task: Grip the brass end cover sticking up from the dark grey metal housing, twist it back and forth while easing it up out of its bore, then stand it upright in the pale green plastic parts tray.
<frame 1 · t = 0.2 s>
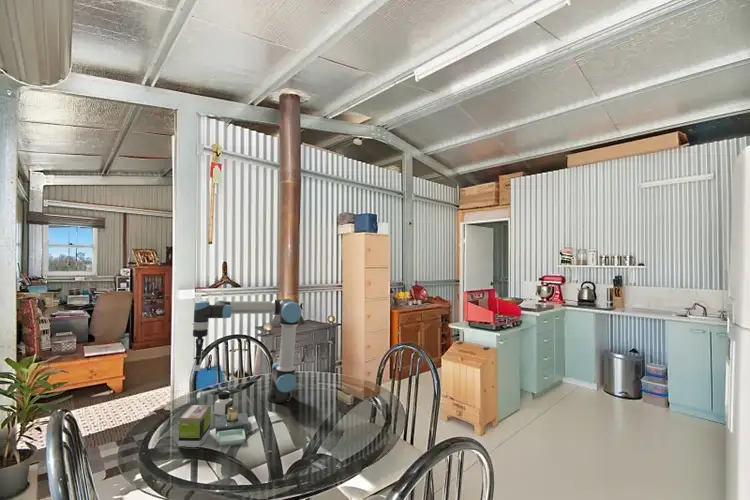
hand: (198, 366, 210), 28 cm above the table, tool pointing down, fingers open, 13 cm apart
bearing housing: (231, 426, 201), on the table
parts tray: (230, 440, 188), on the table
medicine bottle: (223, 413, 217), on the table
tea box: (194, 441, 185), on the table
end cover: (231, 427, 201), resting in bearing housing
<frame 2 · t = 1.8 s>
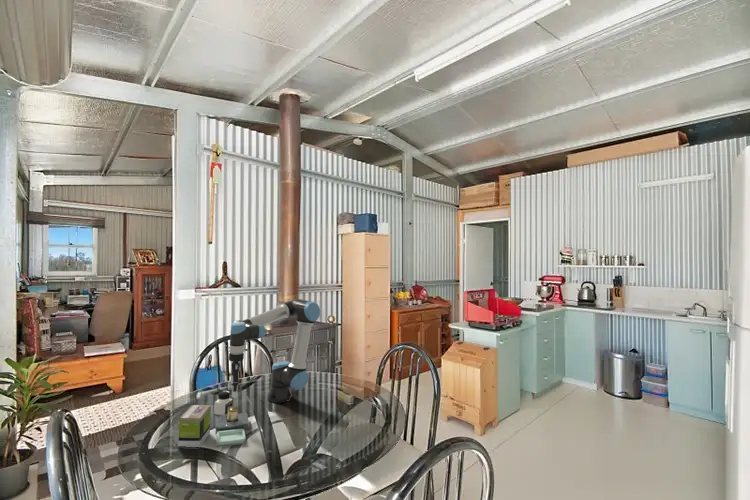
hand: (233, 392, 201), 19 cm above the table, tool pointing down, fingers open, 13 cm apart
nothing on the table moved.
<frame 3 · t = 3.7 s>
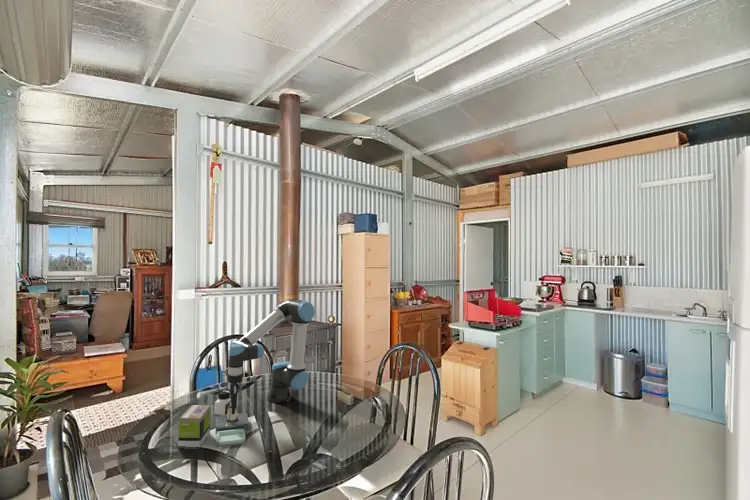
hand: (232, 417, 201), 5 cm above the table, tool pointing down, fingers closed on end cover, 5 cm apart
end cover: (231, 426, 201), resting in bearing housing, touching gripper
everything else where it was.
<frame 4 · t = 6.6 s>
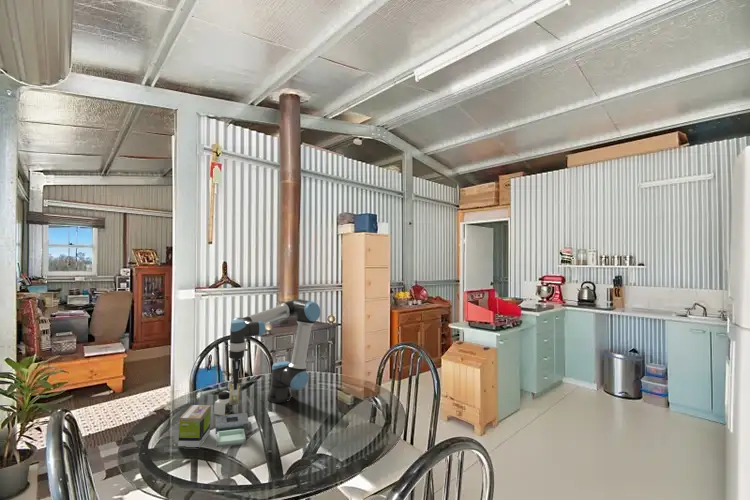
hand: (234, 392, 201), 18 cm above the table, tool pointing down, fingers closed on end cover, 5 cm apart
end cover: (234, 402, 201), point 13 cm above the table, touching gripper
everything else where it was.
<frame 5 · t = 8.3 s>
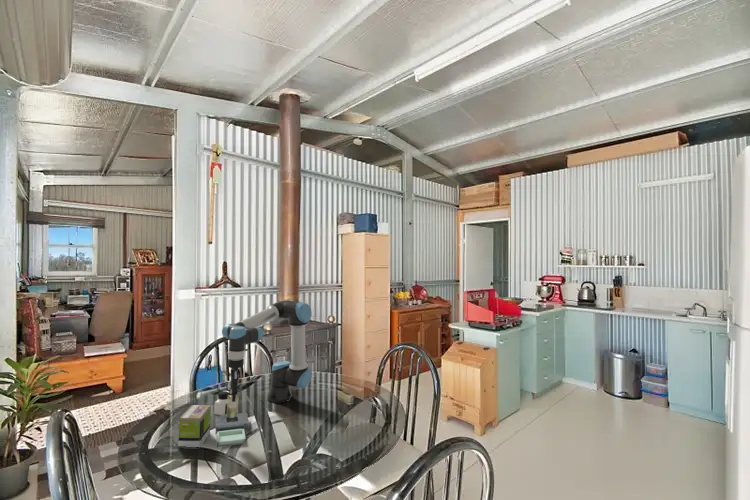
hand: (232, 404, 187), 18 cm above the table, tool pointing down, fingers closed on end cover, 5 cm apart
end cover: (231, 415, 187), point 12 cm above the table, touching gripper
everything else where it was.
when the fingers open (8 cm above the table, at t = 9.9 s): end cover drops 1 cm, resting on parts tray.
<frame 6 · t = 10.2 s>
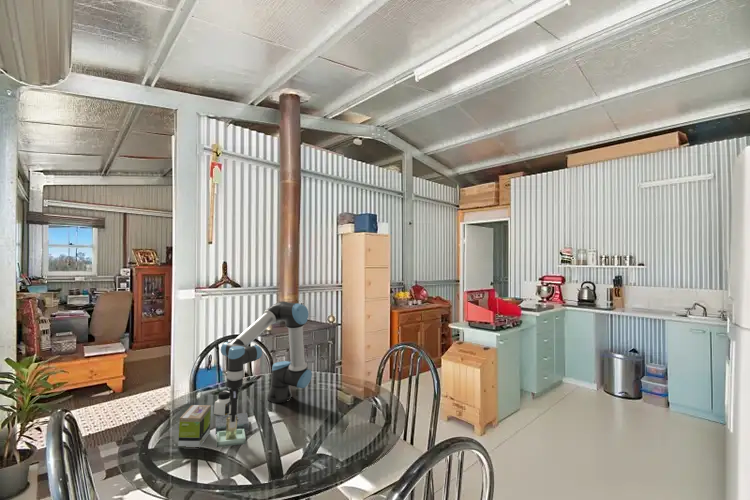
hand: (231, 422, 188), 9 cm above the table, tool pointing down, fingers open, 10 cm apart
end cover: (230, 437, 188), point 1 cm above the table, touching parts tray
everything else where it was.
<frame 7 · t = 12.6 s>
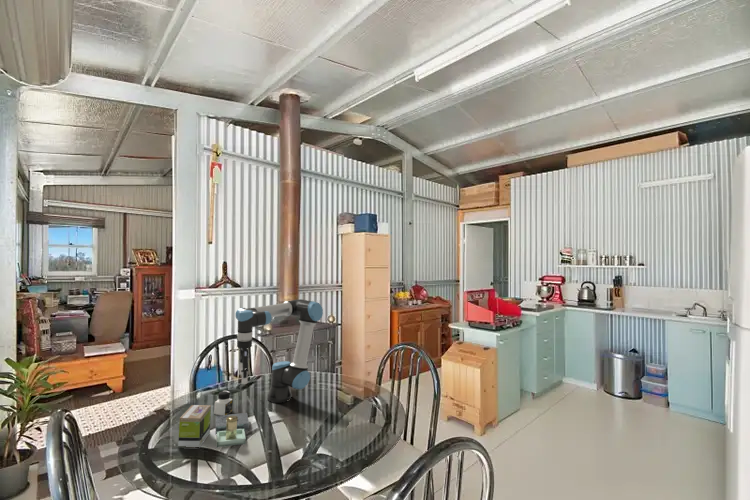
hand: (243, 378, 202), 26 cm above the table, tool pointing down, fingers open, 13 cm apart
nothing on the table moved.
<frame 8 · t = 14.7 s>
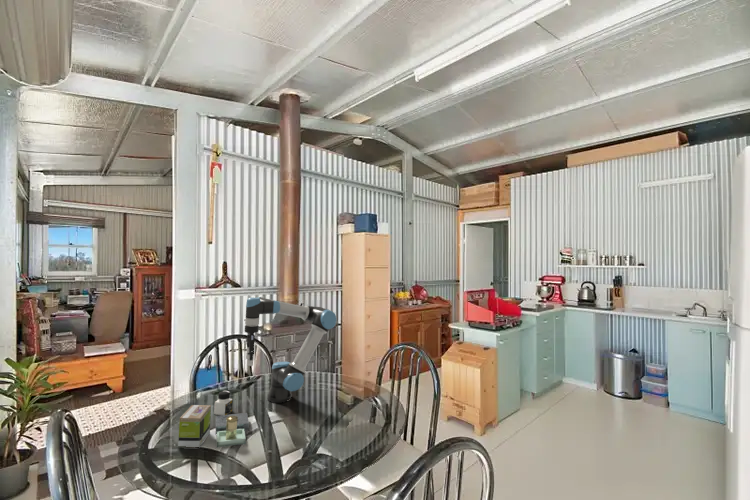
hand: (249, 362, 215), 31 cm above the table, tool pointing down, fingers open, 13 cm apart
nothing on the table moved.
at the end: end cover 0.0 cm off-centre on the parts tray, point 1.0 cm above the parts tray's base; end cover tilted 0°; the gripper is holding nothing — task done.
